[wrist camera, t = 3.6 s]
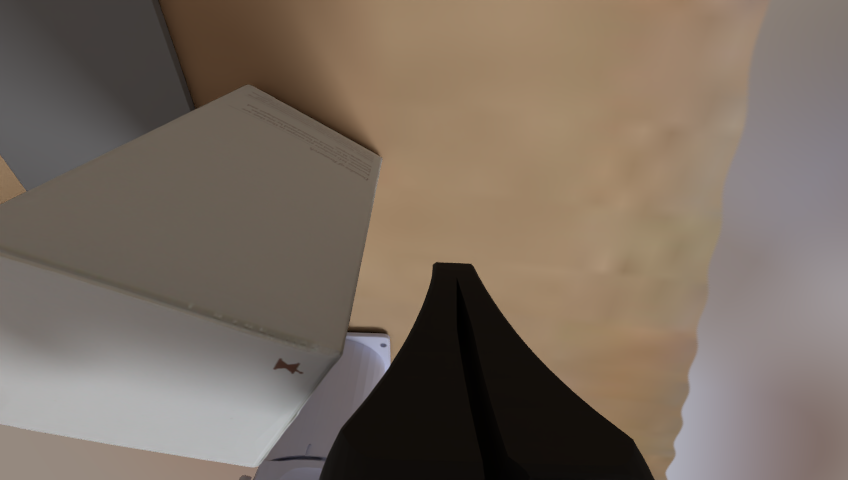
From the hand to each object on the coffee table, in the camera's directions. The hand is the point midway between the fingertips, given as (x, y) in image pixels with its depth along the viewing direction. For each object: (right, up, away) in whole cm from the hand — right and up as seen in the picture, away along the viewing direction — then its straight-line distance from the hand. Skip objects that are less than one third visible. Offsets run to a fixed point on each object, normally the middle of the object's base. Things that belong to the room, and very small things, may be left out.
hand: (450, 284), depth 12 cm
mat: (-18, +6, +6) cm, 20 cm away
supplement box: (-8, +5, +7) cm, 12 cm away
